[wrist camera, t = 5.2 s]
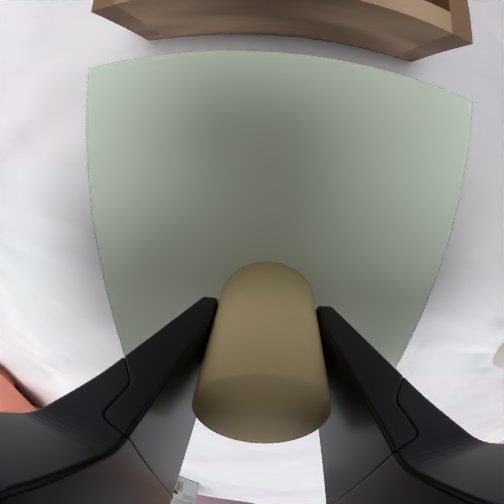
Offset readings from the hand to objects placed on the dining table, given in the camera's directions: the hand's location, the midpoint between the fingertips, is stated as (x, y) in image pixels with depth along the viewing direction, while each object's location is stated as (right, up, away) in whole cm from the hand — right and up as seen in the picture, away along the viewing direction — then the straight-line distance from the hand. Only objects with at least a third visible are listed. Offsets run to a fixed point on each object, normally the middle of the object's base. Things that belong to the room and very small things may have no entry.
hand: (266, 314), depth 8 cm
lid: (0, +1, +2) cm, 2 cm away
